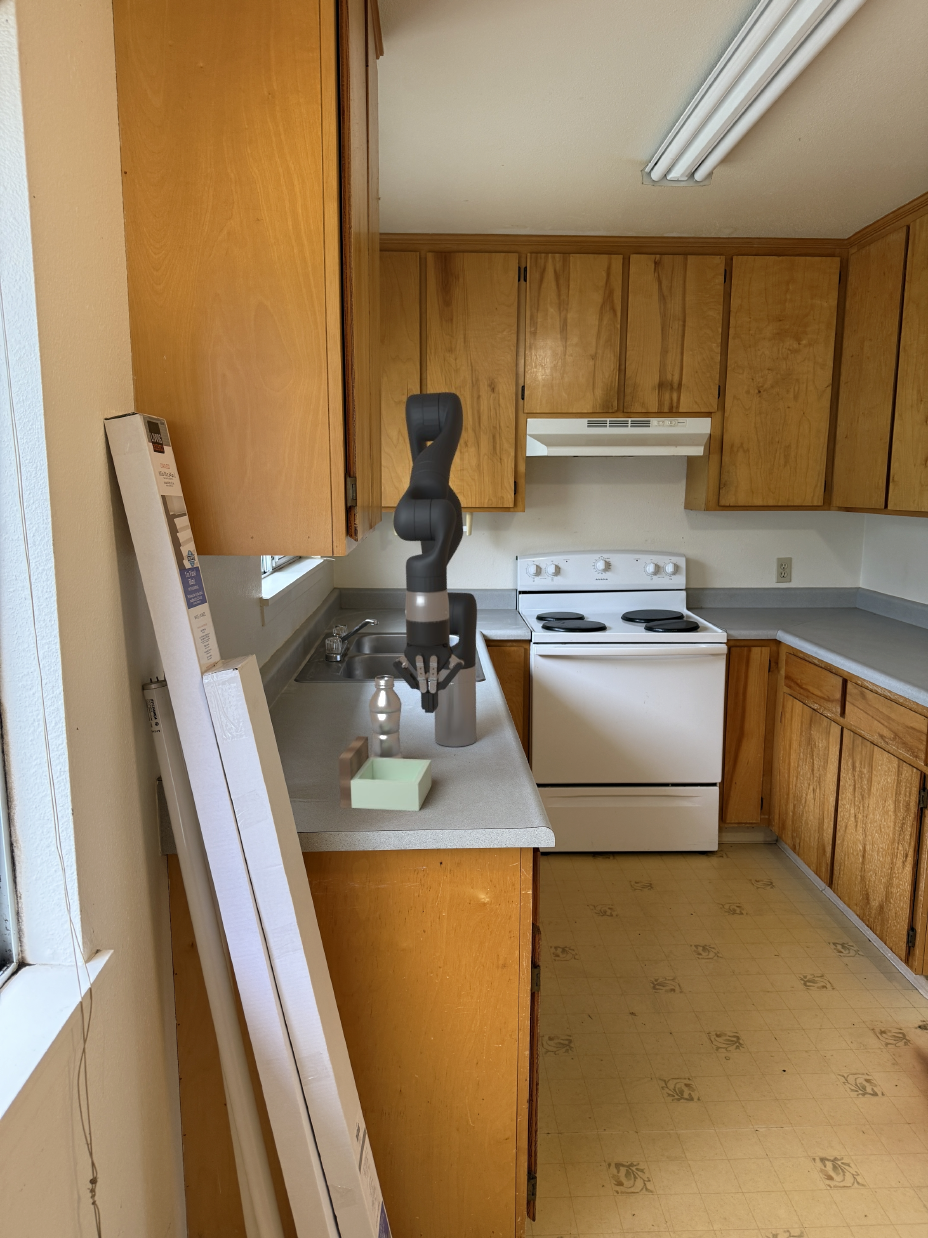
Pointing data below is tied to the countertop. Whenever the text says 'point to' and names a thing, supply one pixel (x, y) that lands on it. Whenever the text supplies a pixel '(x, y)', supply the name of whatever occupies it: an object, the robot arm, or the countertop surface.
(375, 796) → the socket block
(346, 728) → the countertop surface
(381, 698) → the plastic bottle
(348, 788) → the backstop
